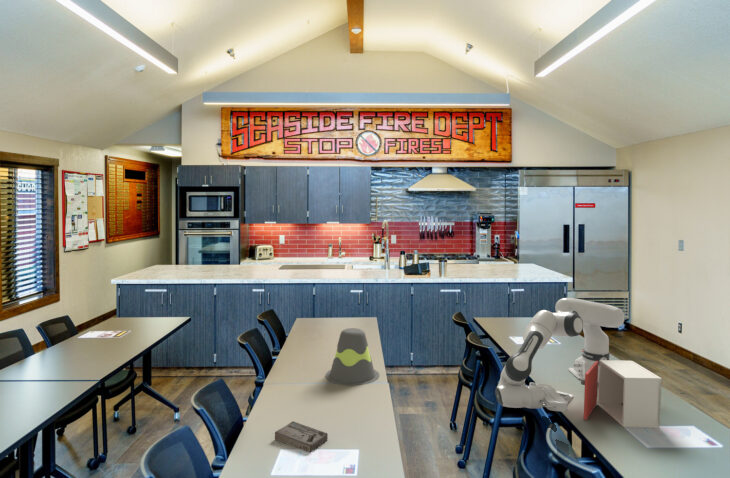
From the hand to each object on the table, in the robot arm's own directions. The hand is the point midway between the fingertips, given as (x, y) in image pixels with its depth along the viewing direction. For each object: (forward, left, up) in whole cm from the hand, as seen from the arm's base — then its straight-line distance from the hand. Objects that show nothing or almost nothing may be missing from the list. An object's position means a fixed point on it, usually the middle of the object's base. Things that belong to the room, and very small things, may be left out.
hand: (570, 397), depth 194 cm
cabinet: (+1, +26, -9) cm, 27 cm away
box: (+4, -110, -9) cm, 111 cm away
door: (-5, +12, -8) cm, 15 cm away
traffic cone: (-62, -84, -9) cm, 104 cm away
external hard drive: (-19, +7, -9) cm, 23 cm away
